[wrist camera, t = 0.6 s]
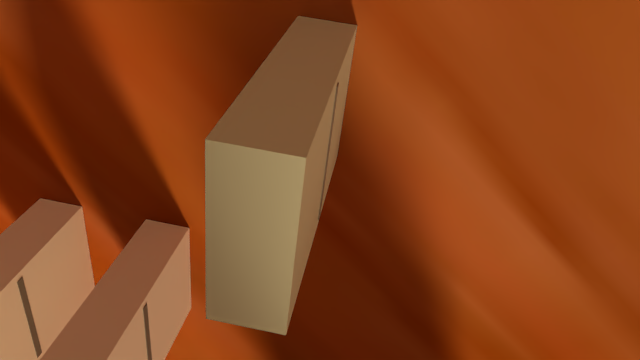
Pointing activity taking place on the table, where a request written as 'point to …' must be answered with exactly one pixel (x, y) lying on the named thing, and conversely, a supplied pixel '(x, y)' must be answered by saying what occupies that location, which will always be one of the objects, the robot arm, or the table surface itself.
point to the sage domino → (274, 174)
